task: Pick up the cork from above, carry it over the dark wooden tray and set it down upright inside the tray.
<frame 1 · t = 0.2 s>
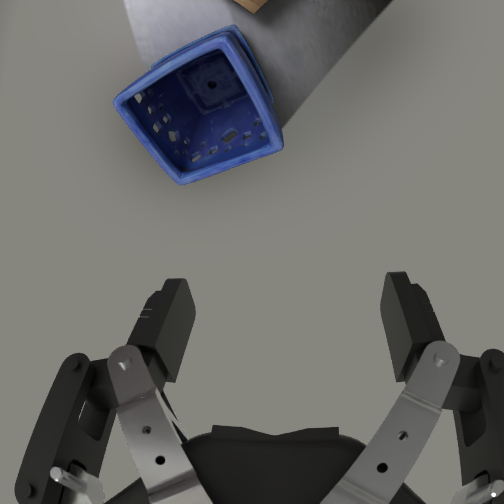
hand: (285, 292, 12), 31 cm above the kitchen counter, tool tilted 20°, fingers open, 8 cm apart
flower pot: (215, 75, 34), on the kitchen counter
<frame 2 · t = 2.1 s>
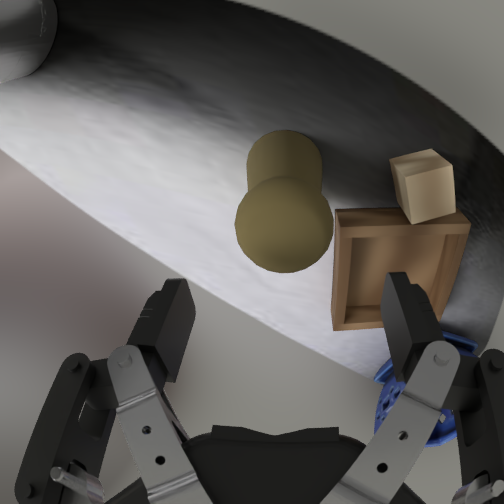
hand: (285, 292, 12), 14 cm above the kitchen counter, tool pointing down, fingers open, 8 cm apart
cork: (284, 165, 24), on the kitchen counter
flower pot: (423, 351, 36), on the kitchen counter
tray: (392, 262, 28), on the kitchen counter
beech block: (414, 175, 23), on the kitchen counter
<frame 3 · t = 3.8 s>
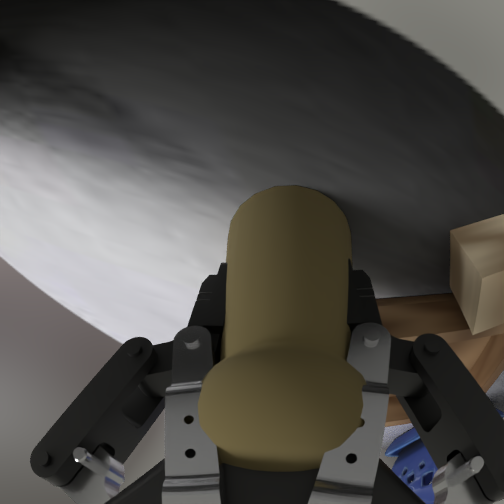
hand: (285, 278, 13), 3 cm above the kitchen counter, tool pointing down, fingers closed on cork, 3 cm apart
cork: (289, 240, 15), on the kitchen counter, touching gripper
flower pot: (443, 422, 27), on the kitchen counter
tray: (427, 353, 19), on the kitchen counter
beech block: (478, 250, 14), on the kitchen counter
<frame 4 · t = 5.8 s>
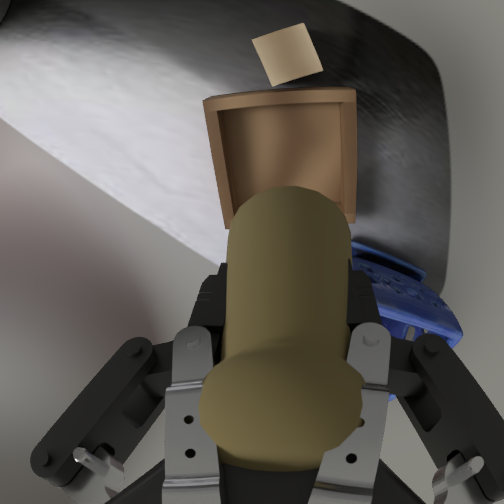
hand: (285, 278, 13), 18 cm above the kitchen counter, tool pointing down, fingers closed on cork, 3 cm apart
cork: (289, 241, 15), point 15 cm above the kitchen counter, touching gripper
flower pot: (360, 282, 35), on the kitchen counter
tray: (285, 152, 27), on the kitchen counter
beech block: (287, 55, 22), on the kitchen counter
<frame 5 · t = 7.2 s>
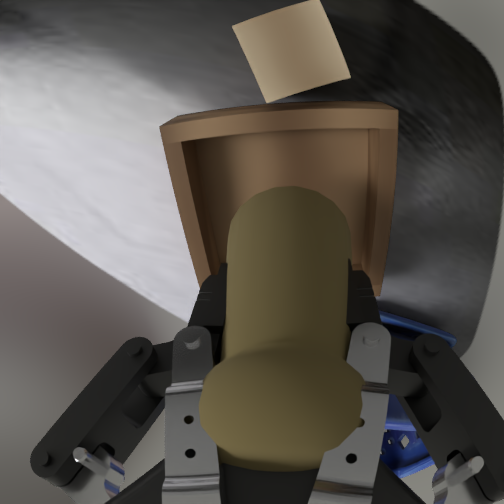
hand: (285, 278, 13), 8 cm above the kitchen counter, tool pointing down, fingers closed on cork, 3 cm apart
cork: (289, 241, 15), point 5 cm above the kitchen counter, touching gripper
flower pot: (376, 347, 27), on the kitchen counter
tray: (286, 197, 19), on the kitchen counter
beech block: (290, 52, 14), on the kitchen counter
when the fingers open (5 cm above the kitchen counter, at t = 8.2 s): cork stays where it is, resting on tray.
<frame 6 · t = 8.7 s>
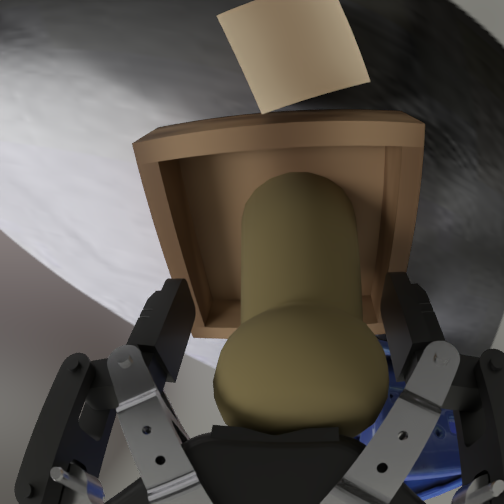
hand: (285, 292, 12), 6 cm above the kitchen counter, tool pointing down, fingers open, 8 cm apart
cork: (299, 224, 16), resting on tray
flower pot: (382, 375, 25), on the kitchen counter
tray: (287, 222, 17), on the kitchen counter
beech block: (292, 49, 12), on the kitchen counter
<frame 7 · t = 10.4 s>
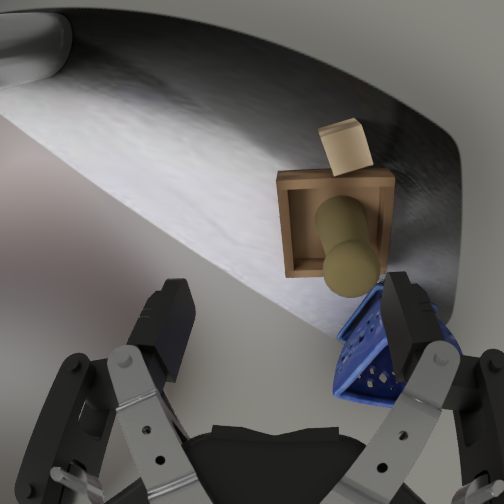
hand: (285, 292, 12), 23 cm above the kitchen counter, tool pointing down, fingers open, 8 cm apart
cork: (340, 219, 34), resting on tray
flower pot: (385, 313, 42), on the kitchen counter
tray: (334, 218, 35), on the kitchen counter
beech block: (341, 140, 30), on the kitchen counter
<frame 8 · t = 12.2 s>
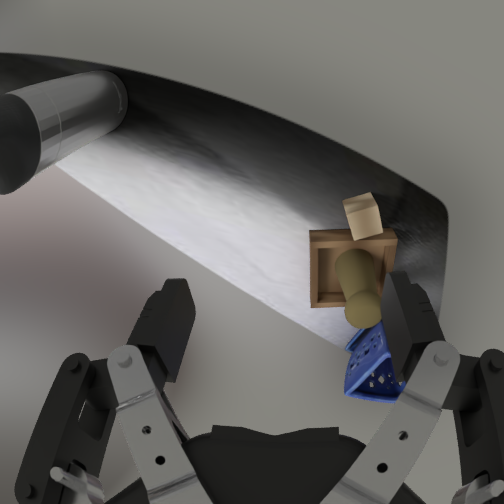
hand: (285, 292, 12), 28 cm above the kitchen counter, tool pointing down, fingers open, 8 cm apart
cork: (354, 264, 45), resting on tray
flower pot: (383, 329, 53), on the kitchen counter
tray: (349, 263, 45), on the kitchen counter
beech block: (359, 208, 40), on the kitchen counter
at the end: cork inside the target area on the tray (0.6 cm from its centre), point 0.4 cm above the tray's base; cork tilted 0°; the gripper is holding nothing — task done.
